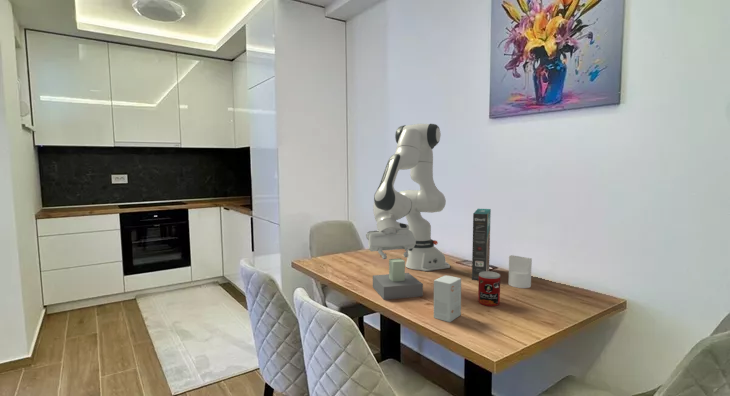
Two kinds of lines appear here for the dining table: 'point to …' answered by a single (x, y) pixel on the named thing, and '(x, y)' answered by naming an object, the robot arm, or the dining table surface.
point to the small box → (447, 298)
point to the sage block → (397, 269)
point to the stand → (397, 287)
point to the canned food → (489, 288)
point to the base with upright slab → (520, 271)
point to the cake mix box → (481, 242)
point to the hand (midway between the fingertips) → (395, 257)
